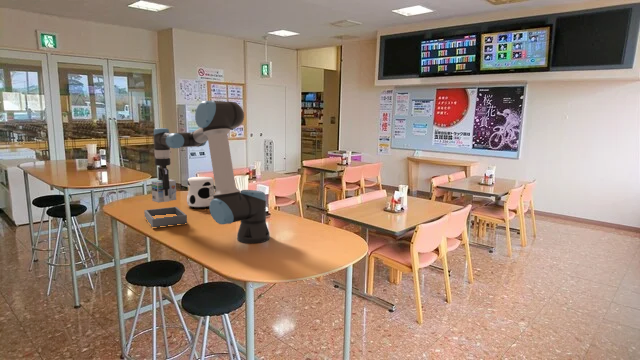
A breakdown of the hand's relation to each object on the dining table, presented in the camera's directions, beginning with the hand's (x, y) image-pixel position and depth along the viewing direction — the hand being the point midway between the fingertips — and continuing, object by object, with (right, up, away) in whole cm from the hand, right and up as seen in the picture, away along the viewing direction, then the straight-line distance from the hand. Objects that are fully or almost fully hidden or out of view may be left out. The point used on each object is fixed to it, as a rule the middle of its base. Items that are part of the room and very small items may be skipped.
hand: (164, 199), depth 207 cm
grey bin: (0, -12, +2) cm, 12 cm away
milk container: (+8, -6, +37) cm, 39 cm away
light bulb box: (0, -1, 0) cm, 0 cm away
